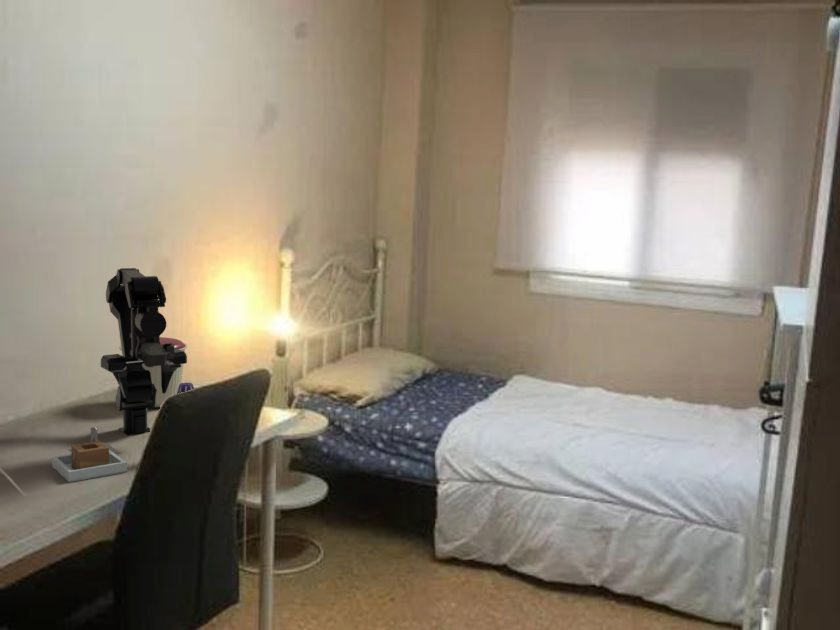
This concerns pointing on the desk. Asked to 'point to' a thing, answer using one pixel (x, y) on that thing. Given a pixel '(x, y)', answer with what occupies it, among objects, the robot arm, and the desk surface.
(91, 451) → the wooden block with hole
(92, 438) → the grey peg stand
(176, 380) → the canister
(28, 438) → the desk surface
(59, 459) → the tray
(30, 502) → the desk surface
